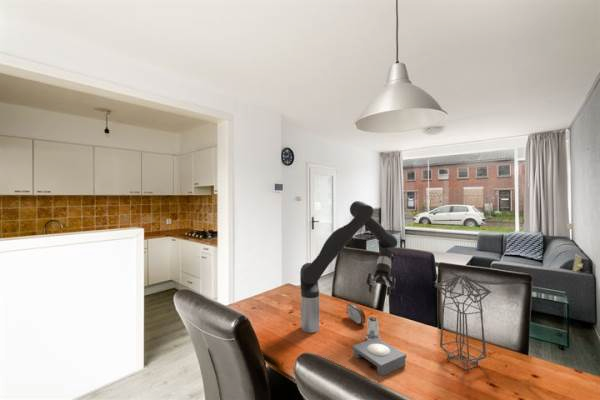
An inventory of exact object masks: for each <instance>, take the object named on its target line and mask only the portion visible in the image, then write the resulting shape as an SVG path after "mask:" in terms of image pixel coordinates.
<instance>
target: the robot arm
mask: <svg viewBox="0 0 600 400" xmlns="http://www.w3.org/2000/svg"><path fill="white" fill-rule="evenodd" d="M349 213H350V214H351V216H352V217H353V218H352V220H350V222H348V223H347V224H345V225H343V226H341V227H339V228H337V229H335V230H334V231H333V232H332V233H331V234H330V235H329V236H328V238H326V240H325V242H324V244H323V246H322V247H321V249H320V251H319V253H318V255H317V256H316V258H315V259H314V260H312V262H306V263H304V264H303V265H302V266H301V268H300V272H299V275H300V277H299V278H300V279H299V281H300V295H301V297H300V298H301V303H300V304H301V306H300V307H301V308H300V327H301V331H303V332H304V333H311V334H313V333H317V332H318V331H320V289H319V280H320V279H321V277H322V276H323V274H324V272H326V269H327V268H328V267H329V265H330V264H331V263H332V262H333V261H334V260H335V259H336V257H337V256H338V255H339V254H340V253H341V252H342V251H343V250H344V248H345V247H346V246H347V245H348V243H349V242H350V241H351V239H352V238H354V236H355V235H356V234H357V233H358V232H359V230H360V229H362V227H366V229H367V230H368V231H369V232H370V233H371V234H372V236H373V237H374V238H375V239H376V240H377V243H378V251H379V252H378V258H377V261H376V266H375V272H374V274H372V273H368V275H367V279H366V284H367V286H368V292H369V293H370V294H373V288H374V286H375V285H377V284H379V285H386V287H387V288H386V293H385V294H386V296H388V297H389V295H391V290H392V289H396V276H395V275H393V276H390V274H391V269H392V258H393V252H392V250H391V249H395V248H396V247H397V246H398V240H397V237H396V236H394V234H392V233H390V232H389V231H387V230H386V229H385V228H384V227H383V226H382V225H381V223H379V222H378V221H377V220H375V218H374V217H372V216H373V214H374V208H373V206H371V205H370V204H368V203H365V202H364V201H360V200H356V201H353V202H352V203H351V204H350V207H349ZM389 281H391V284H390V282H389Z"/></svg>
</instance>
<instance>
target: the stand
mask: <svg viewBox="0 0 600 400" xmlns="http://www.w3.org/2000/svg"><path fill="white" fill-rule="evenodd" d="M351 347H352V351H353V356H354V358H355V359H357V360H358V359H360V358H362V357H363V358H364V359H366V361H367V360H368V362H369V363H372V364H373V365H374V366H376V372H377V374H378V375H380V376H382V377H383V376H385V375H388V374H389V373H392V372H394V371H397V370H398V369H400V368H402V367H405V366H406V359H407V354H406V353H405V352H403V351H401V350H400V349H397V348H396V347H394V346H392V345H390V344H388V342H385V341H383V340H382V339H381V338H380V339H378V338H373V339H370V340H365V341H362V342H359V343H357V344H353V345H352V346H351Z"/></svg>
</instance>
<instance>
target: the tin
mask: <svg viewBox="0 0 600 400" xmlns="http://www.w3.org/2000/svg"><path fill="white" fill-rule="evenodd" d="M346 312H347V313H346V314H347V315H348V317H349V319H350V320H352V321H353V322H354V323H356V324H357V325H364V324H366V322H367V321H366V320H367V319H366V313H365V312H364V310H363V309H362V308H361V307H360V306H358V305H357V304H355V303H353V302H352V303H351V302H350V303H348V304H347V305H346Z"/></svg>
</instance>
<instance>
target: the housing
mask: <svg viewBox="0 0 600 400" xmlns="http://www.w3.org/2000/svg"><path fill="white" fill-rule="evenodd" d="M366 320H367V321H366V322H367V323H366V332H367V334H366V335H365V340H366V341H368V340H370V339H373V338H378V339H380V340H381V336H380V332H379V331H380V329H379V319H378V318H376V317H373V316H371V317H367V319H366Z"/></svg>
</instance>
